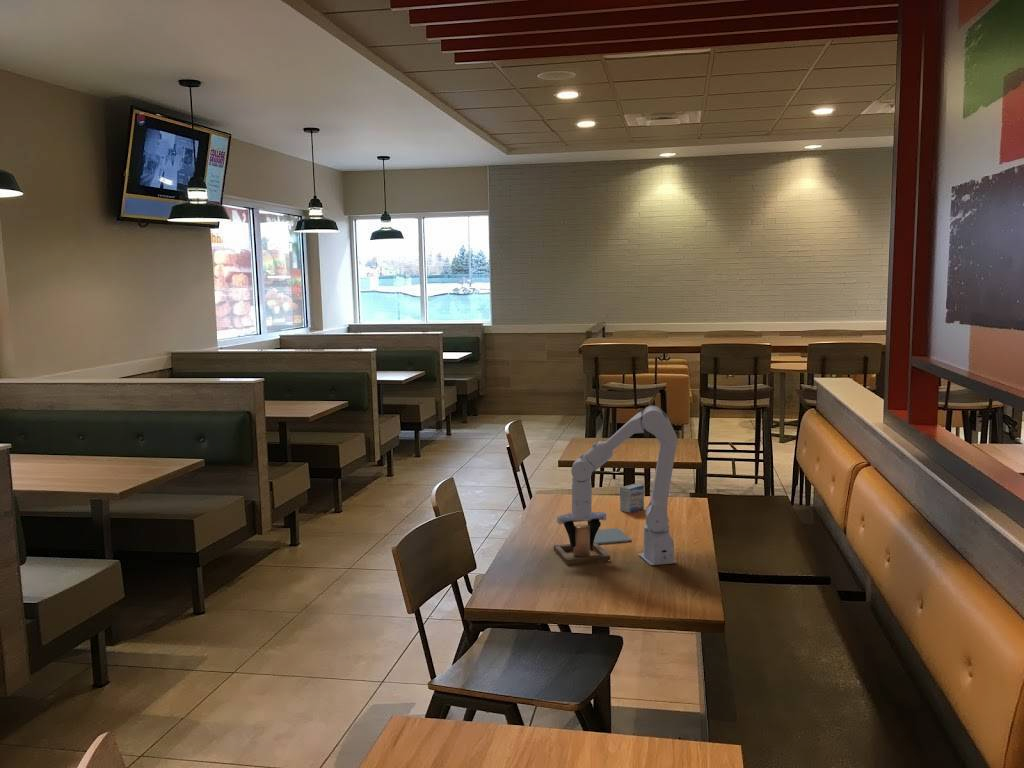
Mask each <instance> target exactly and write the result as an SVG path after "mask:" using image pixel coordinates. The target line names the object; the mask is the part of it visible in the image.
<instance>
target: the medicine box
mask: <svg viewBox="0 0 1024 768" xmlns="http://www.w3.org/2000/svg"><path fill="white" fill-rule="evenodd" d="M644 505H645V485H644V484H642V483H641V484H640V483H632V484H628V485H625V486H620V487H619V510H620V511H621V512H623V511H624V513H627V512H628V513H627V514H632V513H635V512H638V511H637V510H639V511H641V509H642V510H644V509H645V506H644ZM634 511H635V512H634ZM631 512H632V513H631Z"/></svg>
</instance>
